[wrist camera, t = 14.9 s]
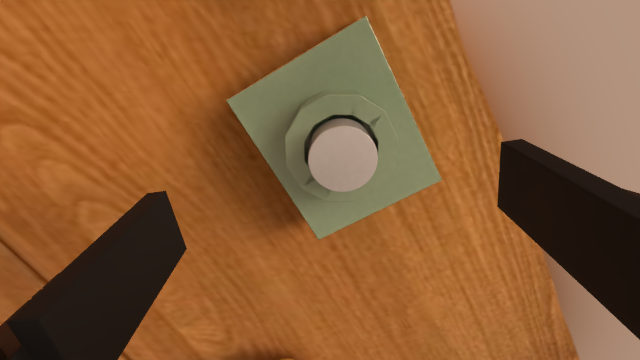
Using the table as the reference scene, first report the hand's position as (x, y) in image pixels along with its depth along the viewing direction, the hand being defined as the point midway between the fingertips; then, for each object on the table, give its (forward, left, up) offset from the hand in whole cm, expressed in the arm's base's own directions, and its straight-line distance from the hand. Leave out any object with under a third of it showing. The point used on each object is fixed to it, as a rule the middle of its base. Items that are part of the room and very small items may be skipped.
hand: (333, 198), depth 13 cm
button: (-1, +1, -8) cm, 8 cm away
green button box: (-1, +1, -14) cm, 14 cm away
